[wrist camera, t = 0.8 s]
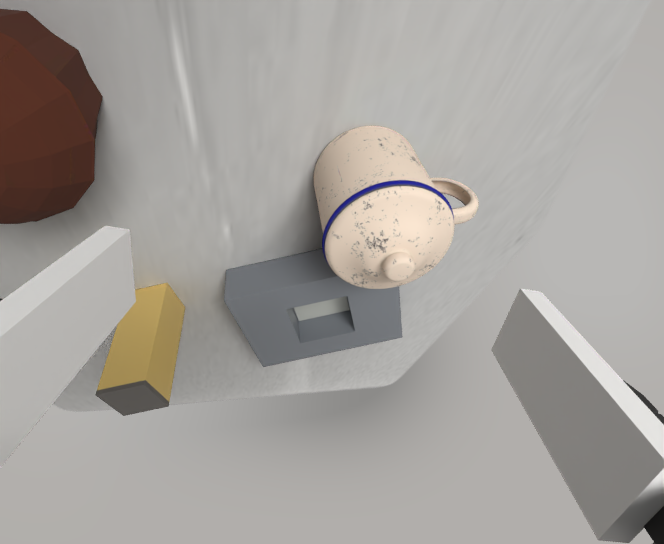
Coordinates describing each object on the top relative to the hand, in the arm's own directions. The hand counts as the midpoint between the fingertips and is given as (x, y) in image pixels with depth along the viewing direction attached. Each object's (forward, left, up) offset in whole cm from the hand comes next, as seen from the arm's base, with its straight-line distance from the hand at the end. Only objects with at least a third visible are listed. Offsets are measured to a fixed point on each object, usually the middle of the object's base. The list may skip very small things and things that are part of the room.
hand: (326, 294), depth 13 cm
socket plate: (+21, -2, -19) cm, 29 cm away
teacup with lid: (+8, +6, -19) cm, 22 cm away
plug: (+17, -18, -19) cm, 32 cm away
